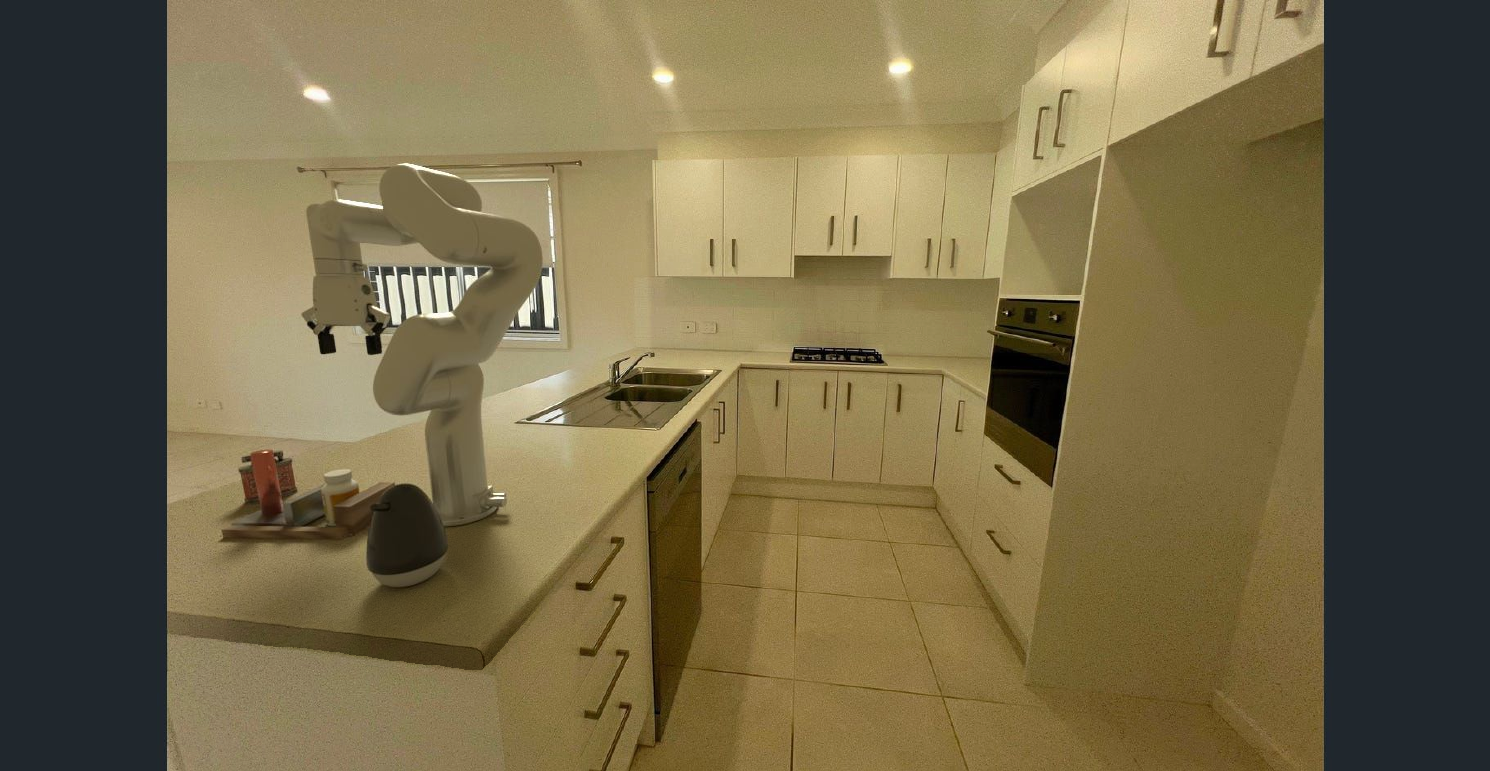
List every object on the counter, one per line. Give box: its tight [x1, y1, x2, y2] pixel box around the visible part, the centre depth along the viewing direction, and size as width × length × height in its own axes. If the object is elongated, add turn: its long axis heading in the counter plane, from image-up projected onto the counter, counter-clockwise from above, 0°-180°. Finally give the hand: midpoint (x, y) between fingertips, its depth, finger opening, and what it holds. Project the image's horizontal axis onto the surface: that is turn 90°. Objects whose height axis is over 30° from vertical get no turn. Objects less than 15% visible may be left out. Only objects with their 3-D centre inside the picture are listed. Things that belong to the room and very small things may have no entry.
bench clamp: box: [221, 481, 396, 540], centre depth 90 cm, size 22×14×6 cm, turn 90°
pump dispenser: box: [365, 482, 449, 588], centre depth 72 cm, size 10×10×15 cm
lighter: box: [237, 449, 299, 504], centre depth 100 cm, size 8×3×10 cm, turn 144°
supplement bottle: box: [321, 468, 360, 527], centre depth 90 cm, size 5×5×10 cm
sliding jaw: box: [230, 449, 327, 527], centre depth 89 cm, size 12×9×13 cm
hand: (351, 353), depth 99 cm, fingers open, 9 cm apart
